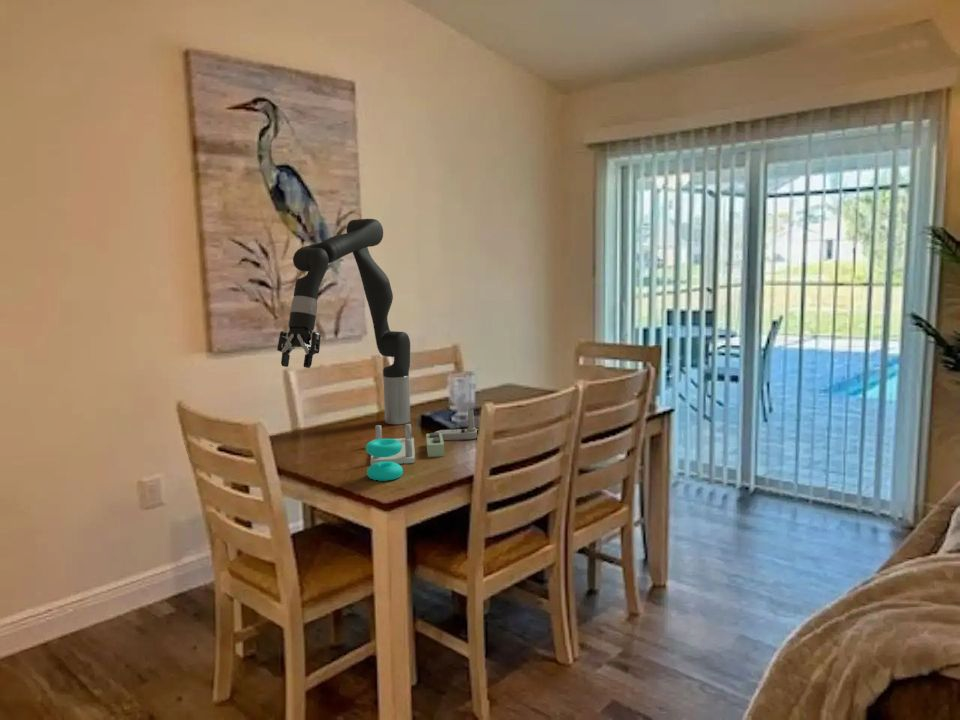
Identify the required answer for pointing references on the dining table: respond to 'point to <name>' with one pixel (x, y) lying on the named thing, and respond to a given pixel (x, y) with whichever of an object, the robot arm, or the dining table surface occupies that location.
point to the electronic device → (461, 430)
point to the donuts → (384, 469)
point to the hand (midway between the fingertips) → (295, 367)
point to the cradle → (406, 452)
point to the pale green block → (435, 444)
